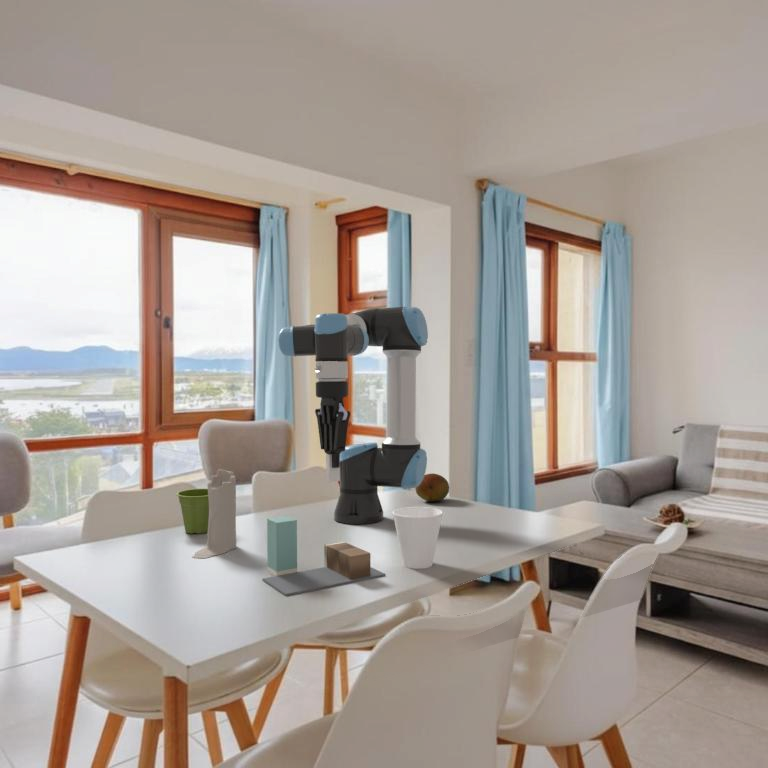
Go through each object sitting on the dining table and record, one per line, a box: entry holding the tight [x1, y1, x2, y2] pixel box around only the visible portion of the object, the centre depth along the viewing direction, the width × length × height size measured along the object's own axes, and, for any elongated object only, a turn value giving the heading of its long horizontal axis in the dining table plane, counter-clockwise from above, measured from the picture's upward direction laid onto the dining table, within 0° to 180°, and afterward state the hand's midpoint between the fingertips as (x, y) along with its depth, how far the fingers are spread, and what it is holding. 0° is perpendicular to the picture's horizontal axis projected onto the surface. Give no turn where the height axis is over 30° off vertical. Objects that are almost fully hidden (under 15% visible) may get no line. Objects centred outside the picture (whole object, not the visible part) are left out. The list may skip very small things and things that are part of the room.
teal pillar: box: [266, 515, 298, 577], centre depth 148 cm, size 5×5×12 cm
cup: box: [392, 506, 444, 570], centre depth 153 cm, size 12×12×12 cm
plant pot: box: [176, 488, 209, 535], centre depth 187 cm, size 12×12×11 cm
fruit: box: [414, 473, 450, 503], centre depth 229 cm, size 12×12×10 cm
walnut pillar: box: [323, 541, 371, 580], centre depth 147 cm, size 5×5×12 cm
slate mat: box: [261, 566, 386, 597], centre depth 143 cm, size 12×24×1 cm, turn 123°
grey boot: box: [192, 468, 237, 559], centre depth 166 cm, size 7×14×20 cm, turn 160°
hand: (333, 481), depth 153 cm, fingers closed
